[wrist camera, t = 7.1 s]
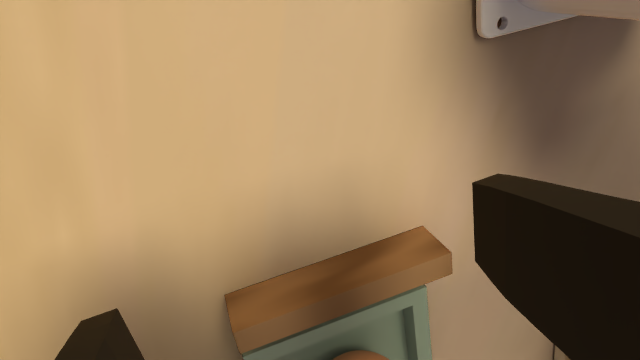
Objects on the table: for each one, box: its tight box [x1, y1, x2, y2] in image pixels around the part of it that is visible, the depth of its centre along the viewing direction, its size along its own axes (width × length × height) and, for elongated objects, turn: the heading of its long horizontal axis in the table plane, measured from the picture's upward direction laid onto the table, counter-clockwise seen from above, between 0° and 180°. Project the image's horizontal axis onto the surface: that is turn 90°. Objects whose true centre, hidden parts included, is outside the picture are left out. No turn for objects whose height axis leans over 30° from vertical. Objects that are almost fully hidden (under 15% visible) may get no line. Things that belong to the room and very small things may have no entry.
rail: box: [225, 226, 452, 354], centre depth 20 cm, size 10×1×2 cm, turn 100°
